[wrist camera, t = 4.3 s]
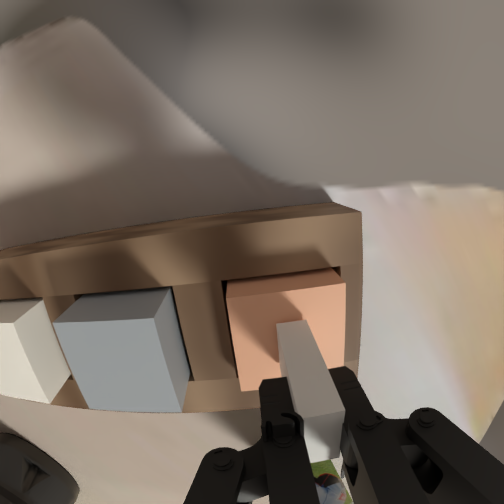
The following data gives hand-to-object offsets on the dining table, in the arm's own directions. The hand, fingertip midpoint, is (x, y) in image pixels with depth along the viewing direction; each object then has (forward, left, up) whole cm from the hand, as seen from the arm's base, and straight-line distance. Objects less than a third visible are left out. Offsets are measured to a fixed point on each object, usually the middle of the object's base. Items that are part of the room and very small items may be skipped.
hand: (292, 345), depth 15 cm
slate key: (-9, 0, -3) cm, 9 cm away
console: (-9, 0, -7) cm, 11 cm away
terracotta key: (0, 0, -4) cm, 4 cm away
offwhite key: (-18, 0, -3) cm, 18 cm away
